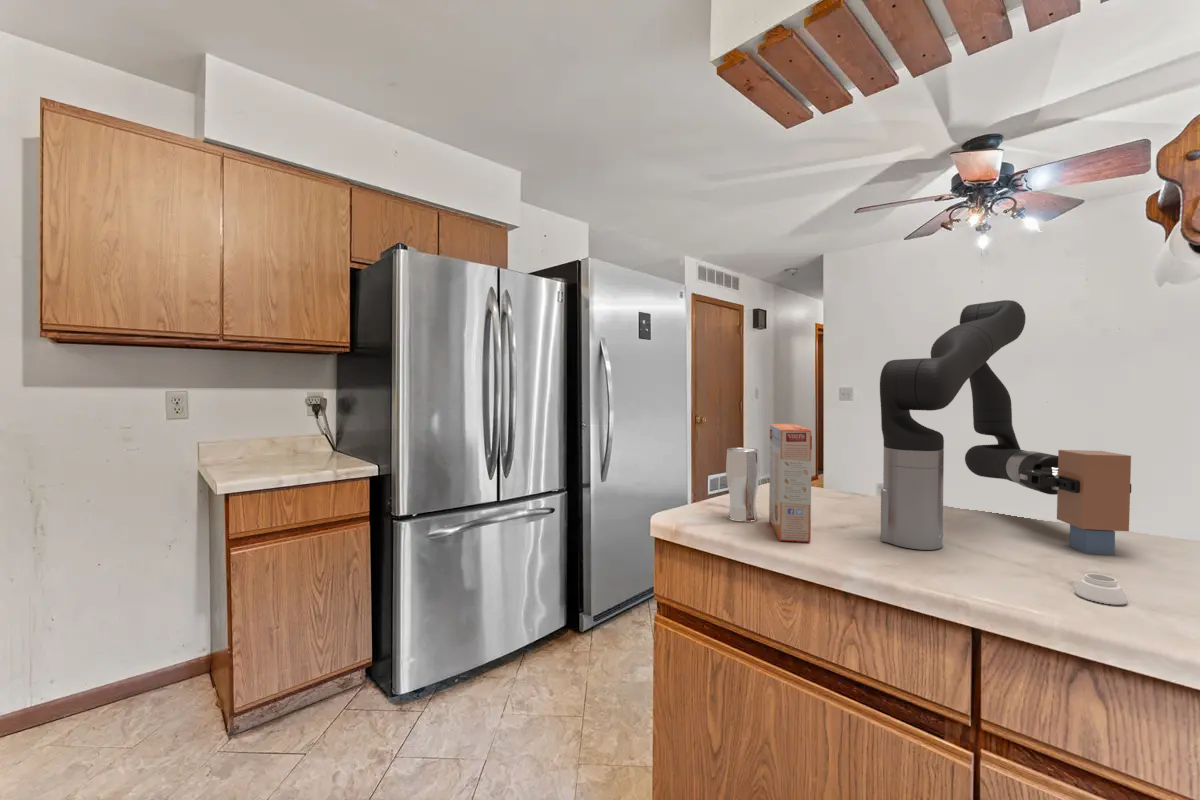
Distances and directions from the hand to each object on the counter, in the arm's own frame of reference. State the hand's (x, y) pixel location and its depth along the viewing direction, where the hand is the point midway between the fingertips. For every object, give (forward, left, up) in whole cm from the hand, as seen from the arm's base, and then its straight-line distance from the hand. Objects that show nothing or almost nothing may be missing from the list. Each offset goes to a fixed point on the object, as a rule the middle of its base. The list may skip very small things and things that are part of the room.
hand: (1102, 487), depth 83 cm
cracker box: (-46, -17, -11) cm, 50 cm away
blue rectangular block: (-1, +2, -11) cm, 12 cm away
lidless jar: (-3, -23, -12) cm, 26 cm away
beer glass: (-57, -13, -11) cm, 59 cm away
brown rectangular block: (-1, +2, -7) cm, 7 cm away
